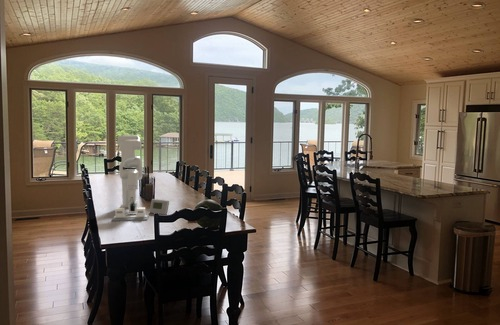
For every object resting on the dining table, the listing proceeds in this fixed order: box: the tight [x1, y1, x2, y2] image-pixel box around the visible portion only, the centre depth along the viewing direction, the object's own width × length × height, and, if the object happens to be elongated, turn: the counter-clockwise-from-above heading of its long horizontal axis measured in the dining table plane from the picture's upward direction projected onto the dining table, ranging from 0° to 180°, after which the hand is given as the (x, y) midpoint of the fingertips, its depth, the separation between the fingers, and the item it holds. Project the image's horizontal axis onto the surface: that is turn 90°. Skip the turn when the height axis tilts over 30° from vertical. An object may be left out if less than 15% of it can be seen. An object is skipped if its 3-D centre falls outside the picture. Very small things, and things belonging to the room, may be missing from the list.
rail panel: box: [111, 206, 150, 222], centre depth 299 cm, size 13×25×8 cm, turn 98°
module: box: [128, 200, 139, 214], centre depth 313 cm, size 5×6×8 cm
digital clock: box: [149, 198, 170, 215], centre depth 317 cm, size 16×9×11 cm, turn 58°
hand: (133, 209), depth 313 cm, fingers closed on module, 5 cm apart
